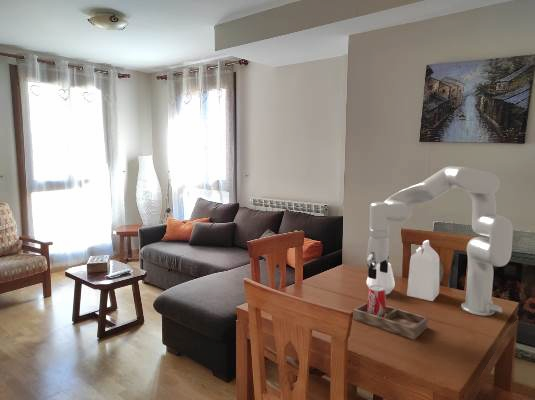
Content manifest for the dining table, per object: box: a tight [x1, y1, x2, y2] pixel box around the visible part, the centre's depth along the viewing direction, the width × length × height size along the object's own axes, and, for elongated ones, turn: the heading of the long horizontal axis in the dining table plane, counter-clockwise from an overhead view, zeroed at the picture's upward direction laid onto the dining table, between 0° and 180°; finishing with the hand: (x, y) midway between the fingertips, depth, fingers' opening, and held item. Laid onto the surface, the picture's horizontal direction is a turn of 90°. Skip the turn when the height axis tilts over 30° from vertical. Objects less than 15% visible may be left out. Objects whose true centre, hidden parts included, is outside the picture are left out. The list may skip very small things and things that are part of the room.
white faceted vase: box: [366, 262, 396, 295], centre depth 185 cm, size 13×13×14 cm
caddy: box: [352, 301, 429, 340], centre depth 151 cm, size 25×13×4 cm, turn 47°
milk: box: [406, 239, 440, 302], centre depth 180 cm, size 12×12×26 cm
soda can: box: [366, 285, 387, 317], centre depth 154 cm, size 7×7×12 cm
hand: (378, 275), depth 153 cm, fingers open, 9 cm apart
